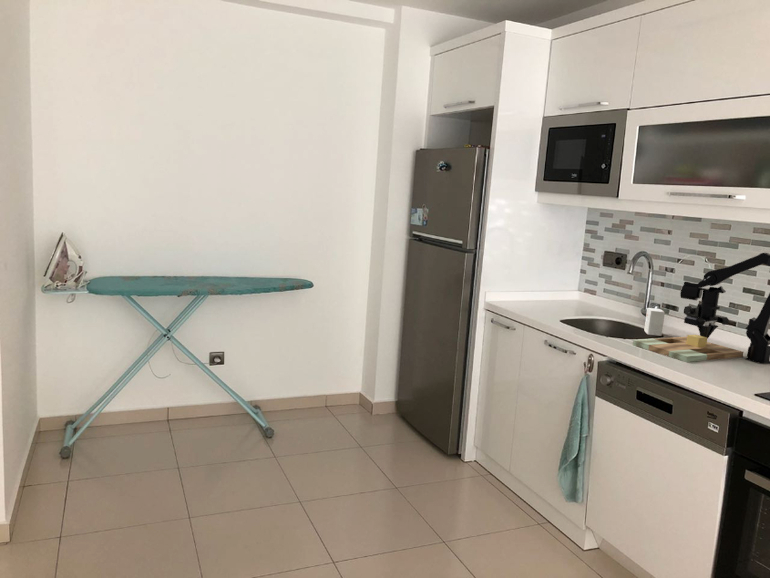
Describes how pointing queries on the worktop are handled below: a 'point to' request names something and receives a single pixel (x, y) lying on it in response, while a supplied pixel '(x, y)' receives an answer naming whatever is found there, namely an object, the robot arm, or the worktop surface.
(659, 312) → the small box
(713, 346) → the trap deck
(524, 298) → the worktop surface
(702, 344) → the mustard block
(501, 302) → the worktop surface
